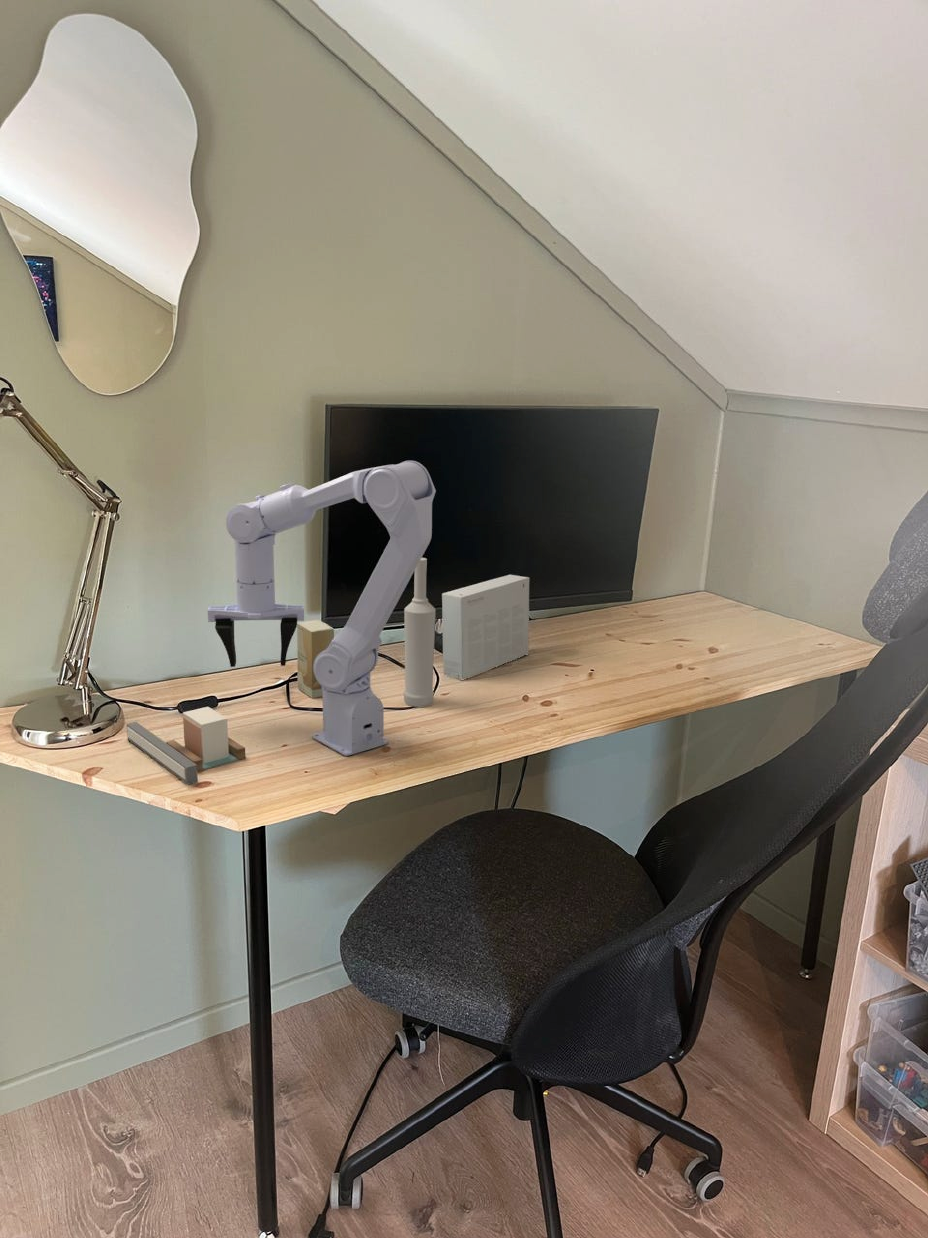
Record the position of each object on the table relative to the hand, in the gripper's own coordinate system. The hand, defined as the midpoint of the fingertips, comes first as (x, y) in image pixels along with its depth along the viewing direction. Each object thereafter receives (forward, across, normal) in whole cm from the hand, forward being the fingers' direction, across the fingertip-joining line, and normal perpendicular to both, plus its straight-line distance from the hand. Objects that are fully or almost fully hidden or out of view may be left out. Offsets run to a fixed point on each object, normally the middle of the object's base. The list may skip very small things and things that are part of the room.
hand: (258, 664), depth 152 cm
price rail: (+10, -13, -13) cm, 21 cm away
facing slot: (+10, -7, -12) cm, 17 cm away
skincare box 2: (+10, +41, +27) cm, 50 cm away
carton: (+10, -7, -12) cm, 17 cm away
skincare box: (+10, +9, +14) cm, 19 cm away
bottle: (+10, +26, +8) cm, 29 cm away
